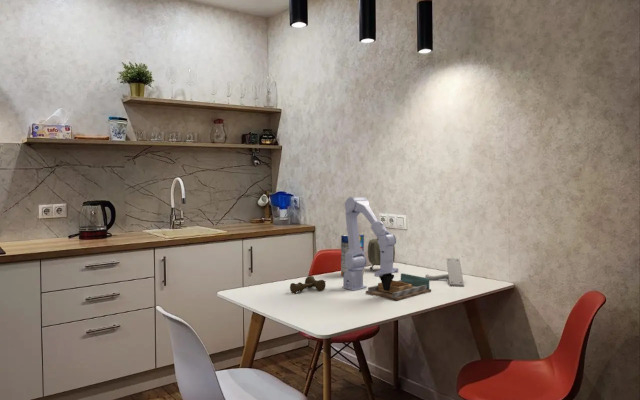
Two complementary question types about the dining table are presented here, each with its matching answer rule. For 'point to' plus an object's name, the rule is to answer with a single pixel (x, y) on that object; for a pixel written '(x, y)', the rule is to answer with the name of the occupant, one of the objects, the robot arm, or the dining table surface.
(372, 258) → the tabletop clock
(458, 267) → the door handle
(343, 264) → the beverage box
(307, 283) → the brown knobbed bar
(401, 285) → the box
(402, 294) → the bay
